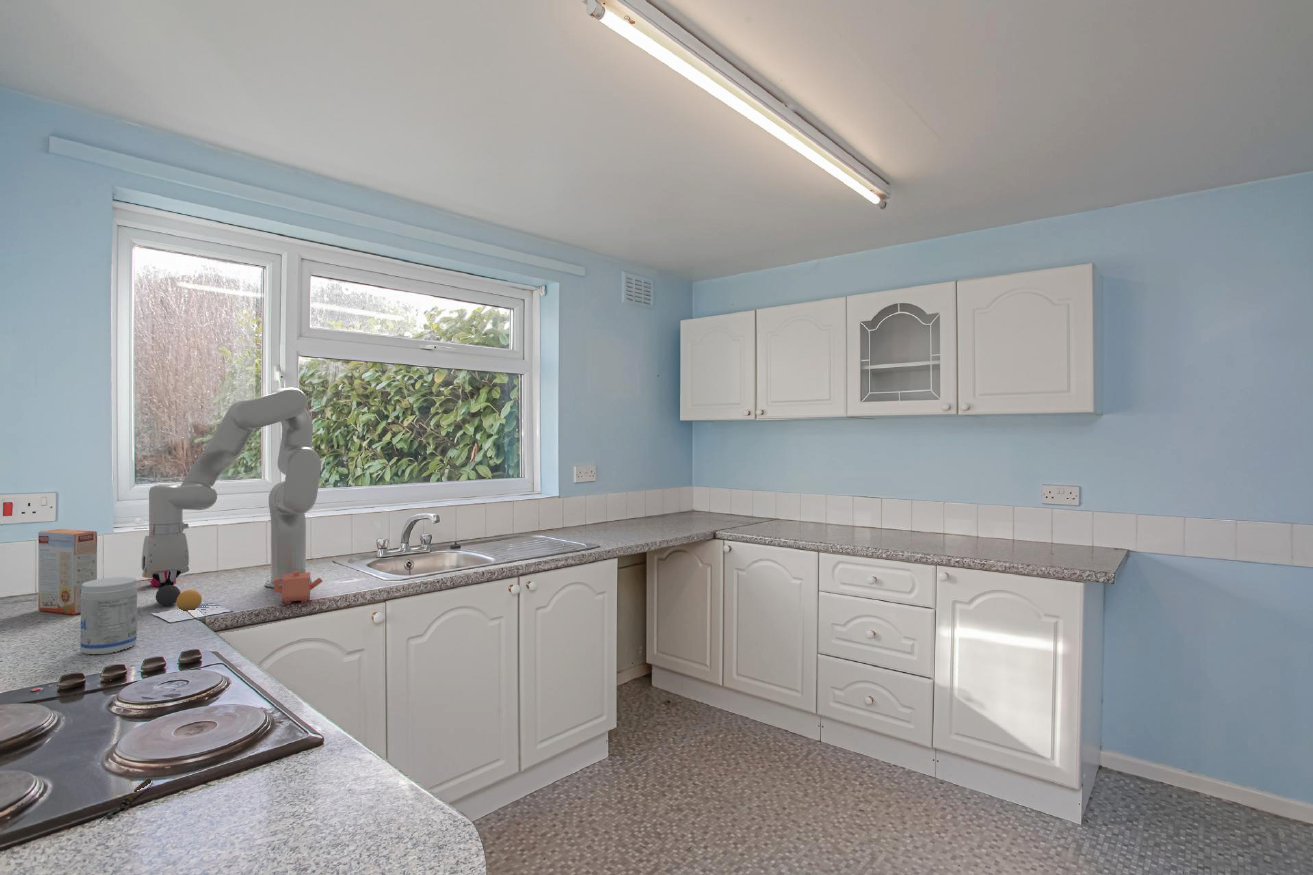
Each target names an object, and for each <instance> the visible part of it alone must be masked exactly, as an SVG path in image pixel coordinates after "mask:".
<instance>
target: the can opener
mask: <svg viewBox="0 0 1313 875" xmlns="http://www.w3.org/2000/svg"><path fill="white" fill-rule="evenodd" d="M151 781H152V782H153V780H152V779H150V778H147V779H146V780H144V781H143V782H141V783H140V784H139V785H138V786H137V787H135V788H134V790H133V791H134V792H137V790H140V789H141V788H144V787H145V786H147V785H148V784H150V783H151ZM132 799H133V796H132V795H131V796H129V795H128V796H126V797H125V798H124V799H123V800H122V801H121V803H120V805H119V806H118V807H116V808H113V809H111V810H109V811H108V813H107V814H106V815H105V816H104V817H103V818H102V819H101V820H100V822H99V823H101V822H103V820H105V819H106V820H112V819H113V818H112V815H118V814H119V812H120V811H122V812H124V811H126V810H128V809H129V808H130V805H131V804H132V803H133V802H132ZM131 802H132V803H131Z"/></svg>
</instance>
